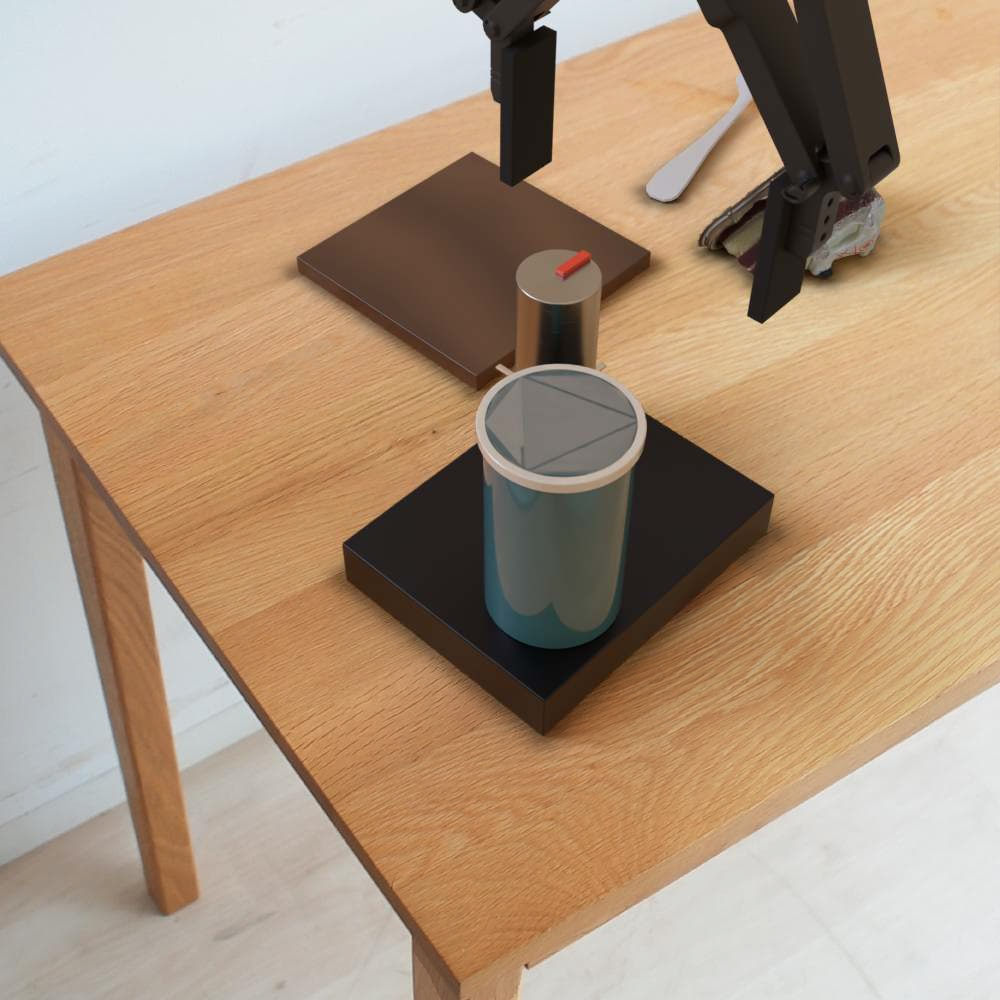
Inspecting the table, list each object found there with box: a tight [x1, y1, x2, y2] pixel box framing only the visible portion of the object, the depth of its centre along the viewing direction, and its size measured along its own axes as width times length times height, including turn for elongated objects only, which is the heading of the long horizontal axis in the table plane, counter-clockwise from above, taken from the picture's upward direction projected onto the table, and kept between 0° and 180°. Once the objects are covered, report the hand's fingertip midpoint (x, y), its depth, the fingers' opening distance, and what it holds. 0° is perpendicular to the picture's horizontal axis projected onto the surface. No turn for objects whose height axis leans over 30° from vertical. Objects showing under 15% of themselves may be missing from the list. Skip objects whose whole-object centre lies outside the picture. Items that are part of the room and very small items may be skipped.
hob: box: [341, 361, 776, 737], centre depth 77 cm, size 19×17×3 cm
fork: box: [645, 70, 753, 203], centre depth 103 cm, size 3×21×3 cm, turn 147°
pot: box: [474, 364, 647, 649], centre depth 67 cm, size 7×7×12 cm
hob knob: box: [514, 249, 602, 373], centre depth 77 cm, size 4×4×9 cm
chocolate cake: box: [697, 148, 887, 280], centre depth 93 cm, size 10×7×12 cm
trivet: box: [296, 151, 652, 391], centre depth 92 cm, size 16×16×1 cm
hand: (643, 235), depth 62 cm, fingers open, 13 cm apart
